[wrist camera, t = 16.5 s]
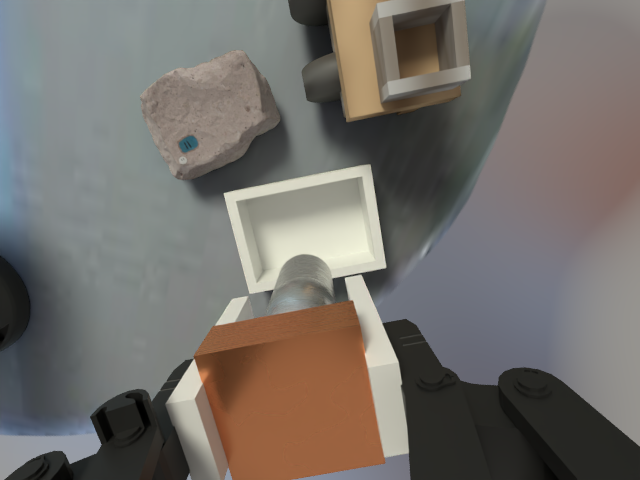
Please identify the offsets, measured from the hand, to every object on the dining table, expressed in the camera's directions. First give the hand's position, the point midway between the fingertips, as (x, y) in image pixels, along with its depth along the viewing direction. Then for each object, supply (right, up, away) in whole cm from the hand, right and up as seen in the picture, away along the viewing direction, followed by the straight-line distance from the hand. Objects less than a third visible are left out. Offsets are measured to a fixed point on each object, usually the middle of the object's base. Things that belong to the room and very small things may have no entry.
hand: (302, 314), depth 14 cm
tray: (-1, +5, +24) cm, 24 cm away
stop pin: (0, +1, +5) cm, 5 cm away
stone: (-11, +17, +21) cm, 29 cm away
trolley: (+5, +23, +20) cm, 31 cm away
